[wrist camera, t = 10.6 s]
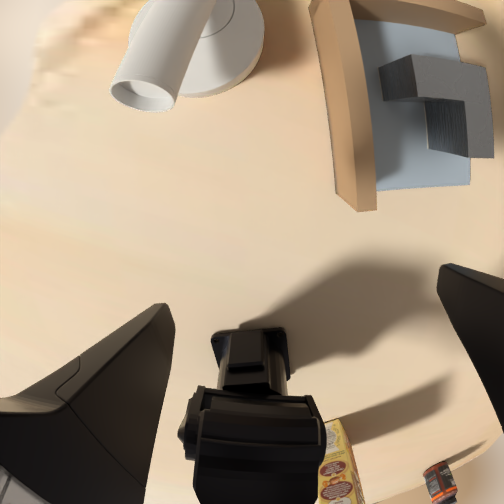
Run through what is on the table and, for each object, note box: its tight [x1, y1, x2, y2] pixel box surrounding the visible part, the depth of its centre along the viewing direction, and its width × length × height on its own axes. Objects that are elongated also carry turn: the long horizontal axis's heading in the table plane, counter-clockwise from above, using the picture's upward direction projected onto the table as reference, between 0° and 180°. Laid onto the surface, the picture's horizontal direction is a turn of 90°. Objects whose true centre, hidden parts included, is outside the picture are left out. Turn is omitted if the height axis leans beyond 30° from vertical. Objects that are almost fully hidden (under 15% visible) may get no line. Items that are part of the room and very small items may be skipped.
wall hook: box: [109, 0, 264, 112], centre depth 12 cm, size 9×10×10 cm
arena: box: [308, 0, 487, 212], centre depth 15 cm, size 14×12×5 cm
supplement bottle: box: [423, 462, 457, 504], centre depth 37 cm, size 6×6×11 cm
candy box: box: [318, 419, 365, 504], centre depth 26 cm, size 9×4×15 cm, turn 25°
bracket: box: [378, 54, 494, 158], centre depth 15 cm, size 6×6×5 cm
